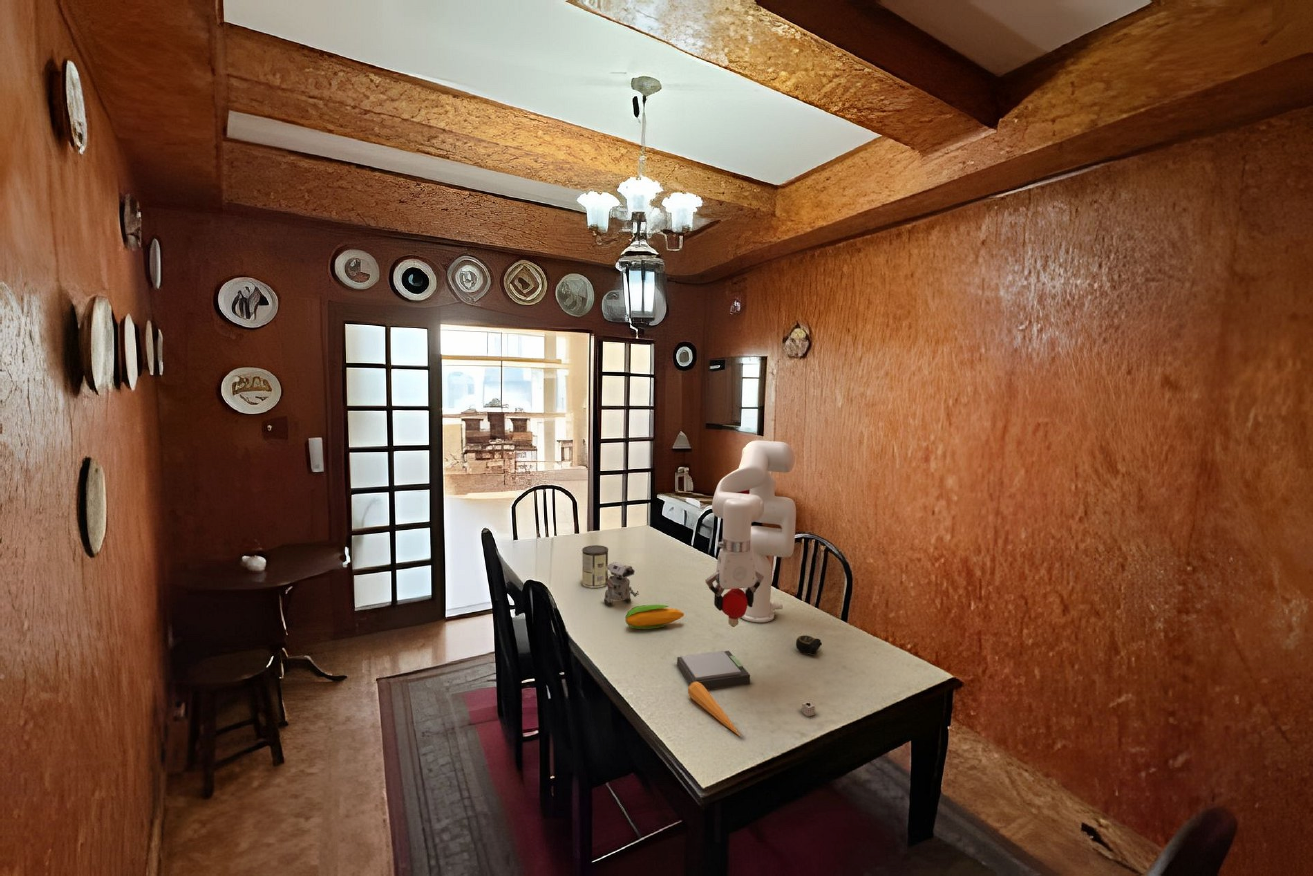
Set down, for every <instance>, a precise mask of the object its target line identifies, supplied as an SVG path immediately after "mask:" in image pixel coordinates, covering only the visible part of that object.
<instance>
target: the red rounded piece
mask: <svg viewBox="0 0 1313 876" xmlns="http://www.w3.org/2000/svg"><path fill="white" fill-rule="evenodd" d="M722 597H723V605H722V611H721V612H722V613H723V614H725V615H726V616H727V617H728V623H727V624H728V625H729V626H730V627H732V628H735V627H736V626H738V625H739V619H742V618H741V617H742V616H744V614H745V612H746V610H747V605H748V602H747V597H746V594H745V593H744V591H743V589H742V588H739V589H729V590H728V591H727V592H726V593H724V594H723V595H722Z"/></svg>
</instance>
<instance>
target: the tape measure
mask: <svg viewBox="0 0 1313 876" xmlns="http://www.w3.org/2000/svg"><path fill="white" fill-rule="evenodd" d="M821 646H823V642H822V641H821V639H820V638H815V637H813V636H811V635H805V634H803V635H799V636H798V637H797V638H796V641H795V647H796V649H797V651H798V652H800V653H802V654H805V655H813V656H815V655H816V654H817V652H818V651H819V649H820V648H821Z"/></svg>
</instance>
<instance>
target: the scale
mask: <svg viewBox="0 0 1313 876" xmlns="http://www.w3.org/2000/svg"><path fill="white" fill-rule="evenodd" d="M676 658H677V659H676V666H677V668H678V669H679V671H680V672H681V674H682V675H683V677H684V678H685V681H686V682H687V683H688V685H689V686H690V685H691V684H692V683H693V682H696V681H697V682H699V683H701V684H702V685H703V686H704V687H705V688H706V690H707V691H708V690H709V691H710V690H715V689H716V690H717V689H723V688H728V687H735V686H736V687H737V686H743V685H750V684H751V674H750V673H749V671H747V669H746V668H745V667H744V665H743V664H742V663H741V662H740V661H739V659H738V658H737V657H736V656H735V655H733V653H731V651H730V650H717V651H710V652H709V651H708V652H701V653H693V654H685V655H684V654H683V655H680V656H677V657H676Z"/></svg>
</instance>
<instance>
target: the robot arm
mask: <svg viewBox="0 0 1313 876" xmlns="http://www.w3.org/2000/svg"><path fill="white" fill-rule="evenodd" d="M794 452H795V451H794V449H793V448H792V447H791V445H790V444H789V443H787V442H784V441H778V440H777V441H775V440H759V439H757V440H751V441H750V442H748V443H747V444H746V445H745V446H744V447H743V448H742V451H741V460H740V463H739V466H738V468H737V469H735V470H733V471H732V472H730V473H728V474H726V475H725V476H724V477H722V478H721V479H720V480H719V482H718V484H717V485H716V489H715V491H714V495H713V498H712V502H711V510H712V513H713V515H714V516H715V517H716V518H719V519H722V538H721V541H717V548H720V549H719V552H718V556H717V561H716V569H715V572H713V574H711V575H710V576H708V577H707V578H706V579H705V584H706V585H707V588H708V590H710V591H711V592H712V593H713V595H714V599H713V601H714V602H713V604H714V607H715V608H716V609H717V610H718V611H719V612H723V611H722V605H723V593H724V592H725V590H731V589H742V590H743V591H744V593H745V594H746V597H747V602H748V605H747V610H746V612H745V614H744V616H742V617H741V618H740V619H743V620H745V621H748V622H752V623H767V622H771V621H772V620H773V619H775V612H774V611H776V610H783V607H784V606H783V603H777V602H776V601H771V598H772V597H771V593H772V577H773V576H772V574H773V573H772V571H773V568H772V564H771V562H770V560H769V559H768V557H777V558H790V557H792V555H793V554H794V552H795V544H796V543H795V542H796V524H797V523H796V521H797V507H796V502H795V501H794V499H793V498H791V497H787V496H778V495H775V491H776V481H775V478H774V476H773V475H772V473H773V472H774V473H785V474H786V473H787V474H788V473H790V472H791V471H792V470H793V468H794V466H795V460H796V459H795V453H794ZM771 472H772V473H771ZM744 491H745V492H746V491H749V493H741V492H744ZM754 522H755V523H761V524H768V525H769V524H770V525H778V526H780V528H777V527H769V526H760V525H752V523H754ZM714 582H715V583H716V585H715V586H714Z"/></svg>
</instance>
